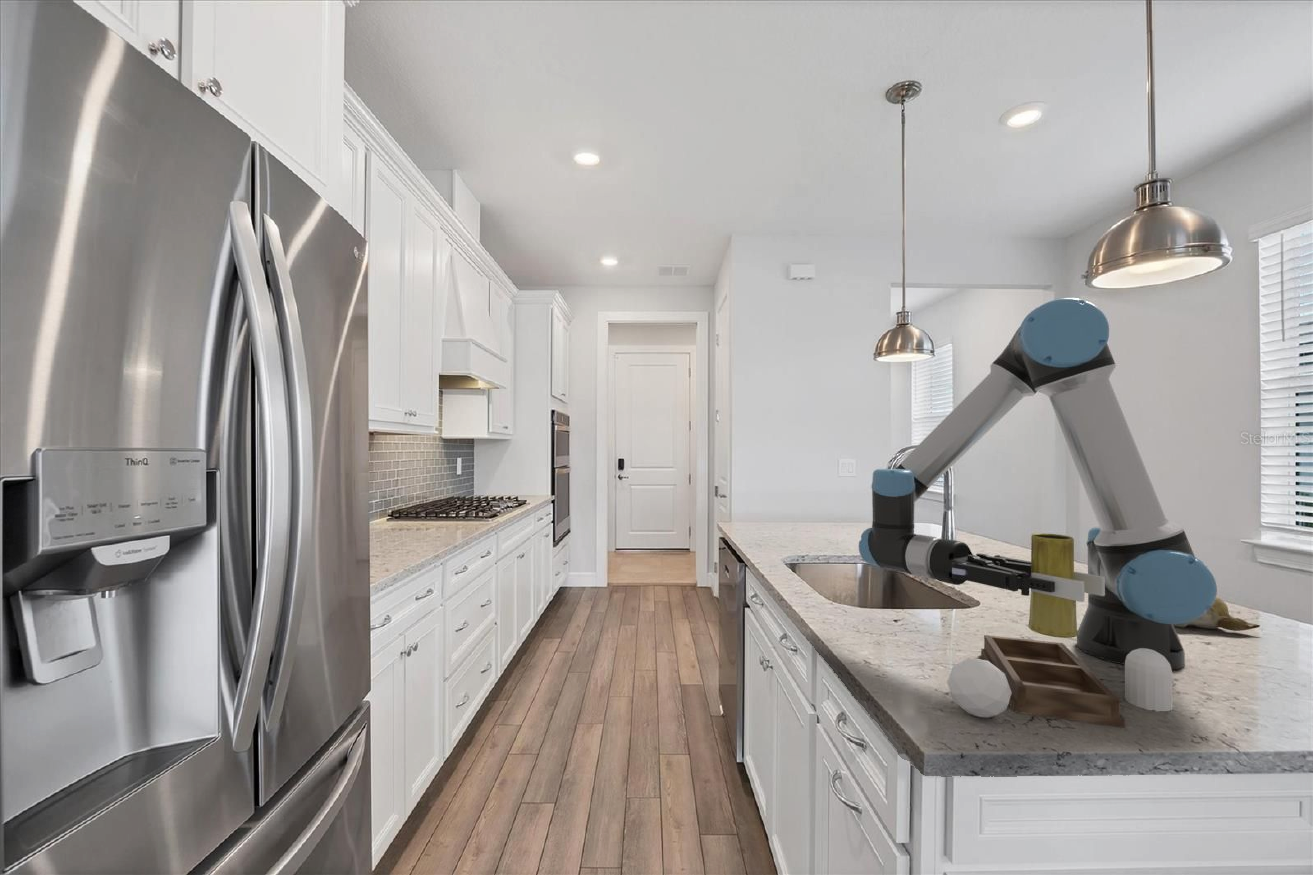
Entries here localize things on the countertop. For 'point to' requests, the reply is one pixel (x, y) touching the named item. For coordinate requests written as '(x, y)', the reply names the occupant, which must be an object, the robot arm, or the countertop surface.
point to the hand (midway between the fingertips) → (1093, 589)
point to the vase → (1046, 610)
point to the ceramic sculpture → (1219, 619)
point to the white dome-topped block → (1148, 680)
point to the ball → (979, 687)
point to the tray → (1051, 681)
